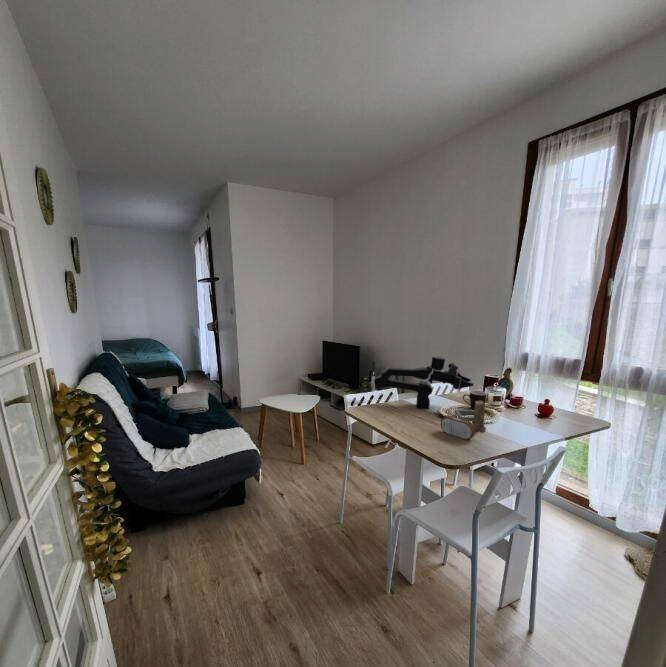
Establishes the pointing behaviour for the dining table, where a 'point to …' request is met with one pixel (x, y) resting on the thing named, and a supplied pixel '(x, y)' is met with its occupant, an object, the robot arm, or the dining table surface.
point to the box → (465, 412)
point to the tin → (458, 427)
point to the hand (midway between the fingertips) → (471, 382)
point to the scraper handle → (479, 417)
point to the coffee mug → (476, 398)
